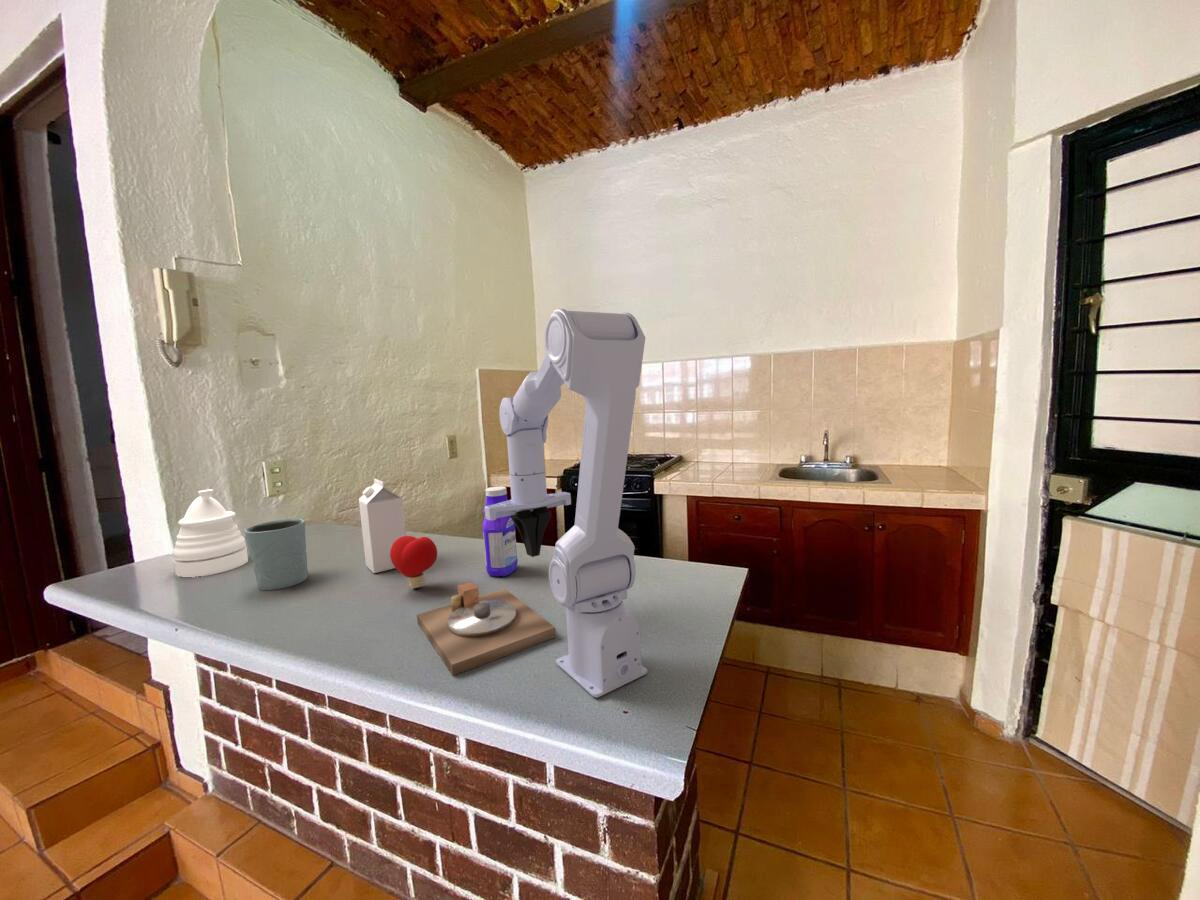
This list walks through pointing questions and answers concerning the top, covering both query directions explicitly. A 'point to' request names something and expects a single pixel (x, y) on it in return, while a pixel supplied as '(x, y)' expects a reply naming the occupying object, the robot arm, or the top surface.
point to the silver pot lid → (472, 626)
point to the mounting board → (484, 649)
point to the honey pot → (208, 539)
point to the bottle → (499, 537)
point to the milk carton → (380, 525)
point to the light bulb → (413, 558)
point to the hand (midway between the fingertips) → (533, 554)
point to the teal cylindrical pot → (278, 553)
